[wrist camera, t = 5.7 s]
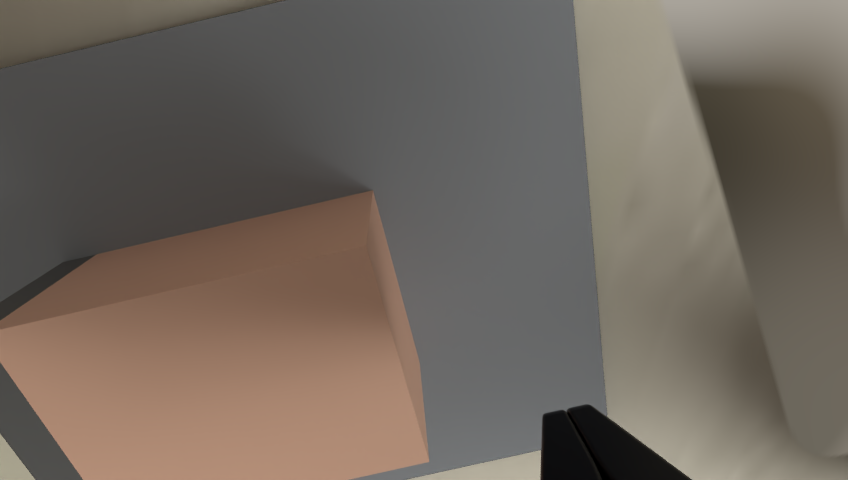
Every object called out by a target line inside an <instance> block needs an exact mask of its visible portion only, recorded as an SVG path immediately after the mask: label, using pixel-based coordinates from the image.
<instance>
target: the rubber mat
mask: <svg viewBox="0 0 848 480" xmlns="http://www.w3.org/2000/svg"><path fill="white" fill-rule="evenodd" d="M372 190H373V192H374V196H375V200H376V203H377V207H378V211H379V215H380V218H381V222H382V226H383V229H384V233H385V237H386V240H387V244H388V248H389V251H390V255H391V259H392V262H393V266H394V270H395V273H396V277H397V281H398V284H399V288H400V292H401V296H402V299H403V303H404V307H405V310H406V314H407V318H408V321H409V325H410V329H411V332H412V336H413V340H414V343H415V347H416V351H417V354H418V358H419V362H420V372H421V382H422V392H423V402H424V412H425V423H426V433H427V443H428V453H429V462H427V463H422V464H418V465H413V466H409V467H404V468H400V469H395V470H391V471H386V472H382V473H377V474H372V475H368V476H363V477H359V478H354V479H350V480H406V479H411V478H415V477H420V476H425V475H429V474H434V473H438V472H443V471H447V470H452V469H456V468H461V467H465V466H470V465H474V464H479V463H484V462H488V461H493V460H497V459H502V458H506V457H511V456H515V455H520V454H524V453H529V452H533V451H538V450H541V443H542V416H543V414H544V413H548V412H552V411H557V410H565V411H567V409H568V408H571V407H575V406H580V405H584V404H589V405H592V406H593V407H594V408H596V409H597V410H599V411H600V412H601V413H603V414H604V415H605V416H607V408H606V395H605V383H604V371H603V359H602V347H601V335H600V322H599V310H598V298H597V286H596V274H595V262H594V249H593V237H592V225H591V213H590V201H589V188H588V176H587V164H586V152H585V140H584V128H583V115H582V103H581V91H580V79H579V67H578V55H577V42H576V30H575V18H574V6H573V0H285V1H281V2H276V3H272V4H268V5H264V6H260V7H256V8H251V9H247V10H243V11H239V12H235V13H231V14H226V15H222V16H218V17H214V18H210V19H206V20H201V21H197V22H193V23H189V24H185V25H181V26H176V27H172V28H168V29H164V30H160V31H156V32H151V33H147V34H143V35H139V36H135V37H131V38H126V39H122V40H118V41H114V42H110V43H106V44H101V45H97V46H93V47H89V48H85V49H81V50H76V51H72V52H68V53H64V54H60V55H56V56H51V57H47V58H43V59H39V60H35V61H31V62H26V63H22V64H18V65H14V66H10V67H6V68H1V69H0V302H1V301H3V300H4V299H6V298H8V297H9V296H11V295H12V294H14V293H15V292H17V291H18V290H20V289H22V288H23V287H25V286H26V285H28V284H29V283H31V282H33V281H34V280H36V279H37V278H39V277H40V276H42V275H44V274H45V273H47V272H48V271H50V270H51V269H53V268H54V267H56V266H58V265H59V264H61V263H62V262H66V261H70V260H74V259H79V258H83V257H87V256H91V255H96V254H100V253H104V252H109V251H113V250H117V249H122V248H126V247H130V246H135V245H139V244H143V243H148V242H152V241H156V240H160V239H165V238H169V237H173V236H178V235H182V234H186V233H191V232H195V231H199V230H204V229H208V228H212V227H217V226H221V225H225V224H229V223H234V222H238V221H242V220H247V219H251V218H255V217H260V216H264V215H268V214H273V213H277V212H281V211H286V210H290V209H294V208H298V207H303V206H307V205H311V204H316V203H320V202H324V201H329V200H333V199H337V198H342V197H346V196H350V195H355V194H359V193H363V192H367V191H372Z"/></svg>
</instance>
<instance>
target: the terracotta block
mask: <svg viewBox="0 0 848 480" xmlns="http://www.w3.org/2000/svg"><path fill="white" fill-rule="evenodd" d="M0 434H1V435H2V436H3V438H4V439H5V440H6V442H7V443H8V444H9V445H10V447H11V448H12V449H13V451H14V452H15V453H16V455H17V456H18V457H19V459H20V460H21V461H22V463H23V464H24V465H25V466H26V468H27V469H28V470H29V472H30V473H31V474H32V476H33V477H34V478H35V480H350V479H354V478H359V477H363V476H368V475H372V474H377V473H382V472H386V471H391V470H395V469H400V468H404V467H409V466H413V465H418V464H422V463H427V462H429V453H428V443H427V433H426V423H425V412H424V402H423V392H422V382H421V372H420V362H419V358H418V354H417V351H416V347H415V343H414V340H413V336H412V332H411V329H410V325H409V321H408V318H407V314H406V310H405V307H404V303H403V299H402V296H401V292H400V288H399V284H398V281H397V277H396V273H395V270H394V266H393V262H392V259H391V255H390V251H389V248H388V244H387V240H386V237H385V233H384V229H383V226H382V222H381V218H380V215H379V211H378V207H377V203H376V200H375V196H374V192H373V190H372V191H367V192H363V193H359V194H355V195H350V196H346V197H342V198H337V199H333V200H329V201H324V202H320V203H316V204H311V205H307V206H303V207H298V208H294V209H290V210H286V211H281V212H277V213H273V214H268V215H264V216H260V217H255V218H251V219H247V220H242V221H238V222H234V223H229V224H225V225H221V226H217V227H212V228H208V229H204V230H199V231H195V232H191V233H186V234H182V235H178V236H173V237H169V238H165V239H160V240H156V241H152V242H148V243H143V244H139V245H135V246H130V247H126V248H122V249H117V250H113V251H109V252H104V253H100V254H96V255H91V256H87V257H83V258H79V259H74V260H70V261H66V262H62V263H61V264H59V265H58V266H56V267H54V268H53V269H51V270H50V271H48V272H47V273H45V274H44V275H42V276H40V277H39V278H37V279H36V280H34V281H33V282H31V283H29V284H28V285H26V286H25V287H23V288H22V289H20V290H18V291H17V292H15V293H14V294H12V295H11V296H9V297H8V298H6V299H4V300H3V301H1V302H0Z"/></svg>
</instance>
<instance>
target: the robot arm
mask: <svg viewBox="0 0 848 480" xmlns="http://www.w3.org/2000/svg"><path fill="white" fill-rule="evenodd" d="M541 480H692V479H690V478H689V477H688V476H686V475H685V474H684V473H682V472H681V471H680V470H678V469H677V468H675V467H674V466H673V465H671V464H670V463H669V462H667V461H666V460H665V459H663V458H662V457H661V456H659V455H658V454H657V453H655V452H654V451H653V450H651V449H650V448H648V447H647V446H646V445H644V444H643V443H642V442H640V441H639V440H638V439H636V438H635V437H634V436H632V435H631V434H630V433H628V432H627V431H626V430H624V429H623V428H621V427H620V426H619V425H617V424H616V423H615V422H613V421H612V420H611V419H609V418H608V417H607V416H605V415H604V414H603V413H601V412H600V411H599V410H597V409H596V408H594V407H593V406H592V405H589V404H584V405H580V406H575V407H571V408H568V409H567V411H565V410H557V411H552V412H548V413H544V414H543V416H542V443H541Z"/></svg>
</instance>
